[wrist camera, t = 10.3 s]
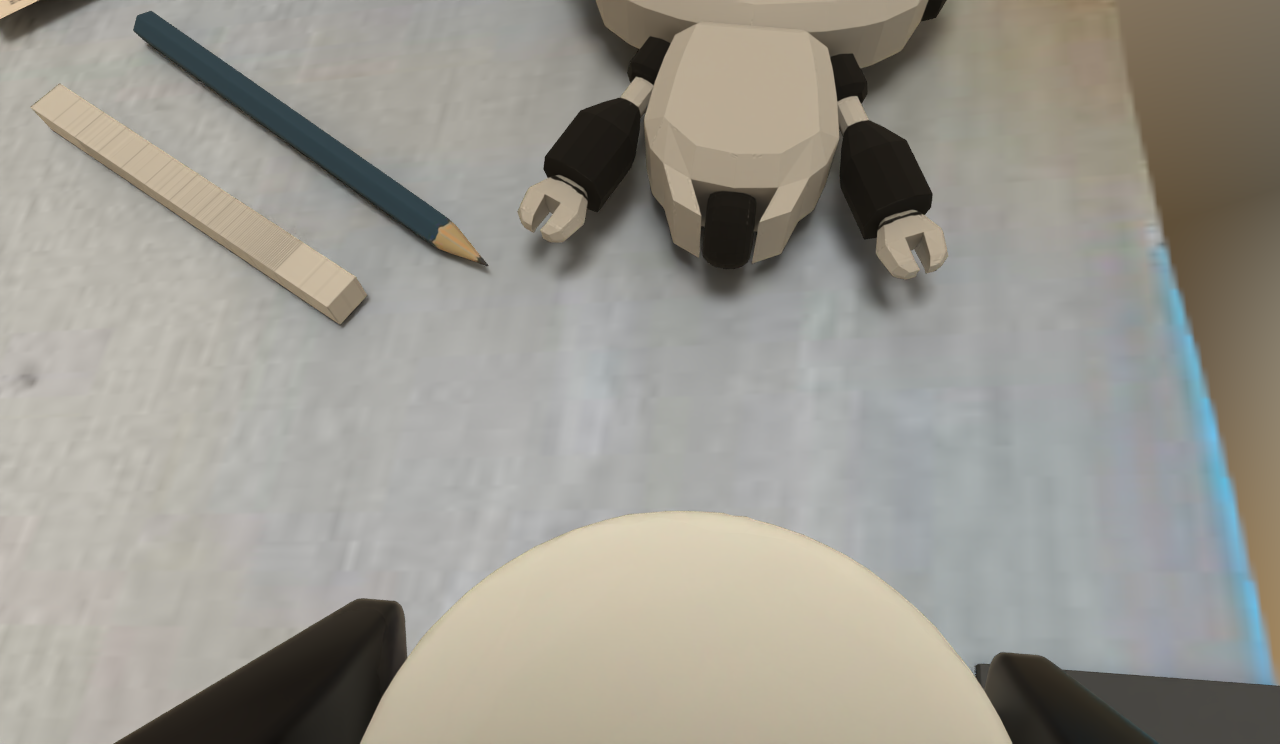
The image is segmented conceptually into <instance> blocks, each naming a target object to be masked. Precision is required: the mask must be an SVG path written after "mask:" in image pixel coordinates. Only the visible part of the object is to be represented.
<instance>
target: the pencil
mask: <svg viewBox="0 0 1280 744" xmlns="http://www.w3.org/2000/svg"><path fill="white" fill-rule="evenodd" d="M133 31H134V32H135V33H136V34H138V35H139V36H140V37H141V38H142V39H143V40H144V41H146V42H147V43H149V44H150V45H151V46H153V47H154V48H156V49H157V50H158V51H160V52H161V53H163V54H164V55H165V56H167V57H168V58H170V59H171V60H172V61H174V62H175V63H177V64H178V65H179V66H181V67H182V68H184V69H185V70H186V71H188V72H189V73H191V74H192V75H193V76H195V77H196V78H198V79H199V80H200V81H202V82H203V83H205V84H206V85H207V86H209V87H210V88H212V89H213V90H214V91H216V92H217V93H219V94H220V95H221V96H223V97H224V98H226V99H227V100H228V101H230V102H231V103H233V104H234V105H236V106H237V107H238V108H240V109H241V110H243V111H244V112H245V113H247V114H248V115H250V116H251V117H252V118H254V119H255V120H257V121H258V122H259V123H261V124H262V125H264V126H265V127H266V128H268V129H269V130H271V131H272V132H273V133H275V134H276V135H278V136H279V137H280V138H282V139H283V140H285V141H286V142H287V143H289V144H290V145H292V146H293V147H294V148H296V149H297V150H299V151H300V152H301V153H303V154H304V155H306V156H307V157H309V158H310V159H311V160H313V161H314V162H316V163H317V164H318V165H320V166H321V167H323V168H324V169H325V170H327V171H328V172H330V173H331V174H332V175H334V176H335V177H337V178H338V179H339V180H341V181H342V182H344V183H345V184H347V185H348V186H349V187H351V188H352V189H354V190H355V191H356V192H358V193H359V194H361V195H362V196H364V197H365V198H366V199H368V200H369V201H371V202H372V203H373V204H375V205H376V206H378V207H379V208H380V209H382V210H383V211H385V212H386V213H388V214H389V215H390V216H392V217H393V218H395V219H396V220H398V221H399V222H400V223H402V224H403V225H405V226H406V227H408V228H409V229H411V230H412V231H413V232H415V233H416V234H418V235H419V236H421V237H422V238H424V239H425V240H426V241H428V242H429V243H431V244H432V245H434V246H435V247H436V248H438V249H440V250H443V251H446V252H448V253H451V254H454V255H457V256H460V257H463V258H466V259H469V260H472V261H475V262H477V263H480V264H483V265H485V266H488V264H487V263H486V262H485V261H484V259H483V258H482V257H481V256H480V255H479V253H478V252H477V251H476V250H475V248H474V247H473V246H472V245H471V243H470V242H469V241H468V240H467V238H466V237H465V236H464V235H463V233H462V232H461V231H460V230H459V228H458V227H457V226H456V225H455V224H454V223H452V222H451V221H450V220H449V219H448V218H447V217H445V216H444V215H443V214H441V213H440V212H439V211H437V210H436V209H434V208H433V207H431V206H430V205H429V204H427V203H426V202H424V201H423V200H422V199H420V198H419V197H417V196H416V195H414V194H413V193H412V192H410V191H409V190H407V189H406V188H404V187H403V186H402V185H400V184H399V183H397V182H396V181H394V180H393V179H392V178H390V177H389V176H387V175H386V174H384V173H383V172H382V171H380V170H379V169H377V168H376V167H374V166H373V165H372V164H370V163H369V162H367V161H366V160H364V159H363V158H362V157H360V156H359V155H357V154H356V153H354V152H353V151H351V150H350V149H349V148H347V147H346V146H344V145H343V144H341V143H340V142H339V141H337V140H336V139H334V138H333V137H331V136H330V135H329V134H327V133H326V132H324V131H323V130H321V129H320V128H319V127H317V126H316V125H314V124H313V123H311V122H310V121H308V120H307V119H306V118H304V117H303V116H301V115H300V114H298V113H297V112H296V111H294V110H293V109H291V108H290V107H288V106H287V105H286V104H284V103H283V102H281V101H280V100H278V99H277V98H276V97H274V96H273V95H271V94H270V93H268V92H267V91H265V90H264V89H263V88H261V87H260V86H258V85H257V84H255V83H254V82H253V81H251V80H250V79H248V78H247V77H245V76H244V75H243V74H241V73H240V72H238V71H237V70H235V69H234V68H233V67H231V66H230V65H228V64H227V63H225V62H224V61H222V60H221V59H220V58H218V57H217V56H215V55H214V54H212V53H211V52H210V51H208V50H207V49H205V48H204V47H202V46H201V45H200V44H198V43H197V42H195V41H194V40H192V39H191V38H189V37H188V36H187V35H185V34H184V33H182V32H181V31H179V30H178V29H177V28H175V27H174V26H172V25H171V24H169V23H168V22H167V21H165V20H164V19H162V18H161V17H159V16H158V15H157V14H155V13H154V12H152V11H149V12H146V13H143V14H140V15H138V16H137V18H136V21H135V25H134V29H133Z"/></svg>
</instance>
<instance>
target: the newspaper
mask: <svg viewBox="0 0 1280 744" xmlns="http://www.w3.org/2000/svg"><path fill="white" fill-rule="evenodd" d="M36 1H38V0H0V19H1V18H3V17H5V16H7V15H9V14H11V13H13V12H16V11H18V10H20V9H22V8H24V7H26V6H28V5H30V4H32V3H34V2H36Z"/></svg>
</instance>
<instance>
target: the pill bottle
mask: <svg viewBox="0 0 1280 744" xmlns="http://www.w3.org/2000/svg"><path fill="white" fill-rule="evenodd" d="M360 744H1012V741H1011V739H1010V737H1009V735H1008V733H1007V731H1006V729H1005V727H1004V725H1003V723H1002V721H1001V719H1000V717H999V715H998V714H997V712H996V710H995V708H994V707H993V705H992V703H991V702H990V700H989V698H988V696H987V695H986V693H985V691H984V690H983V688H982V687H981V685H980V684H979V682H978V681H977V679H976V678H975V676H974V675H973V673H972V672H971V670H970V669H969V668H968V666H967V665H966V664H965V662H964V661H963V660H962V659H961V658H960V656H959V655H958V654H957V653H956V652H955V650H954V649H953V648H952V647H951V645H950V644H949V643H948V642H947V640H946V639H945V638H944V637H943V635H942V634H941V633H940V632H939V631H938V629H937V628H936V627H935V626H934V625H933V624H932V623H931V622H930V621H929V620H928V619H927V618H926V617H925V616H924V615H923V614H922V613H921V612H920V611H919V610H918V609H916V608H915V607H914V606H913V605H912V604H911V603H910V602H909V601H907V600H906V599H905V598H904V597H903V596H902V595H901V594H900V593H898V592H897V591H896V590H895V589H893V588H892V587H891V586H889V585H888V584H887V583H886V582H884V581H883V580H882V579H880V578H879V577H878V576H876V575H875V574H874V573H873V572H871V571H870V570H869V569H867V568H866V567H864V566H862V565H861V564H859V563H857V562H856V561H854V560H853V559H851V558H849V557H848V556H846V555H844V554H842V553H840V552H838V551H836V550H834V549H832V548H830V547H828V546H827V545H824V544H822V543H820V542H818V541H816V540H813V539H811V538H809V537H807V536H805V535H802V534H799V533H796V532H793V531H790V530H787V529H784V528H781V527H779V526H776V525H773V524H769V523H765V522H761V521H757V520H753V519H751V518H748V517H745V516H731V515H728V514H725V513H714V512H696V511H664V512H653V513H641V514H629V515H624V516H620V517H616V518H612V519H608V520H604V521H601V522H598V523H594V524H591V525H588V526H584V527H581V528H578V529H575V530H573V531H570V532H568V533H565V534H563V535H560V536H558V537H556V538H554V539H551V540H549V541H547V542H545V543H542V544H540V545H538V546H536V547H534V548H532V549H530V550H529V551H527V552H525V553H524V554H522V555H520V556H518V557H517V558H515V559H513V560H512V561H510V562H508V563H506V564H505V565H503V566H502V567H500V568H499V569H497V570H496V571H494V572H493V573H491V574H490V575H489V576H487V577H486V578H485V579H484V580H482V581H481V582H480V583H479V584H477V585H476V586H475V587H473V588H472V589H471V590H470V591H468V592H467V593H466V594H465V595H464V596H463V597H462V598H461V599H460V600H459V601H458V602H457V603H456V604H455V605H454V606H452V607H451V608H450V609H449V610H448V611H447V612H446V613H445V614H444V615H443V616H442V617H441V618H440V619H439V620H438V621H437V622H436V623H435V624H434V625H433V626H432V627H431V628H430V630H429V631H428V632H427V633H426V634H425V635H424V636H423V637H422V639H421V640H420V641H419V643H418V644H417V646H416V647H415V648H414V650H413V651H412V652H411V654H410V655H409V657H408V658H407V659H406V661H405V662H404V664H403V665H402V666H401V668H400V669H399V671H398V672H397V674H396V675H395V677H394V678H393V680H392V682H391V683H390V685H389V687H388V688H387V690H386V691H385V693H384V695H383V696H382V698H381V700H380V702H379V704H378V706H377V709H376V711H375V713H374V715H373V717H372V719H371V721H370V723H369V725H368V728H367V730H366V732H365V734H364V736H363V738H362V740H361V742H360Z"/></svg>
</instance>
